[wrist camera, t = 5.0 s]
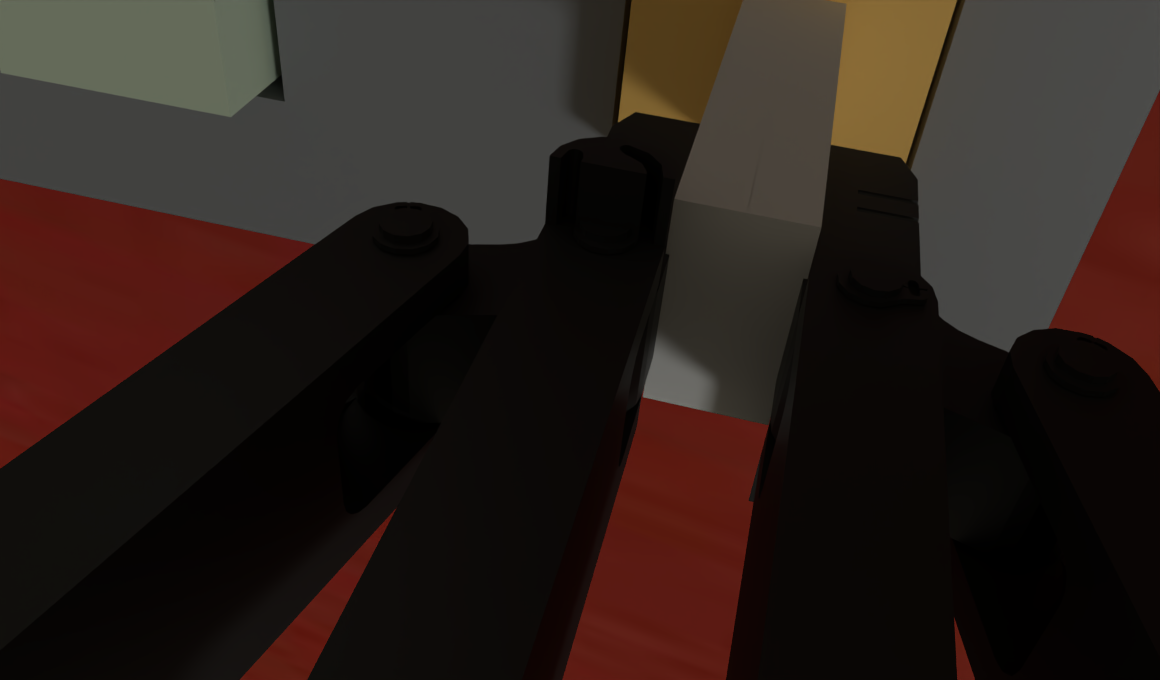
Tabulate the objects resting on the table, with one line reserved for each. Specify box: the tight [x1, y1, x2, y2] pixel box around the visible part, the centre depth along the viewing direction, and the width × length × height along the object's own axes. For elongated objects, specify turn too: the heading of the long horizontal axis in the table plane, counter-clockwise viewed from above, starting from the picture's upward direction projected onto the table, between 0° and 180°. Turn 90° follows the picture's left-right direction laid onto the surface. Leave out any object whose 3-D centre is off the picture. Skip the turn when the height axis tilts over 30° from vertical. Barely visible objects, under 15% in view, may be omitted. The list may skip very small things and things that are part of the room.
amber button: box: [618, 0, 957, 163], centre depth 17 cm, size 5×5×3 cm
